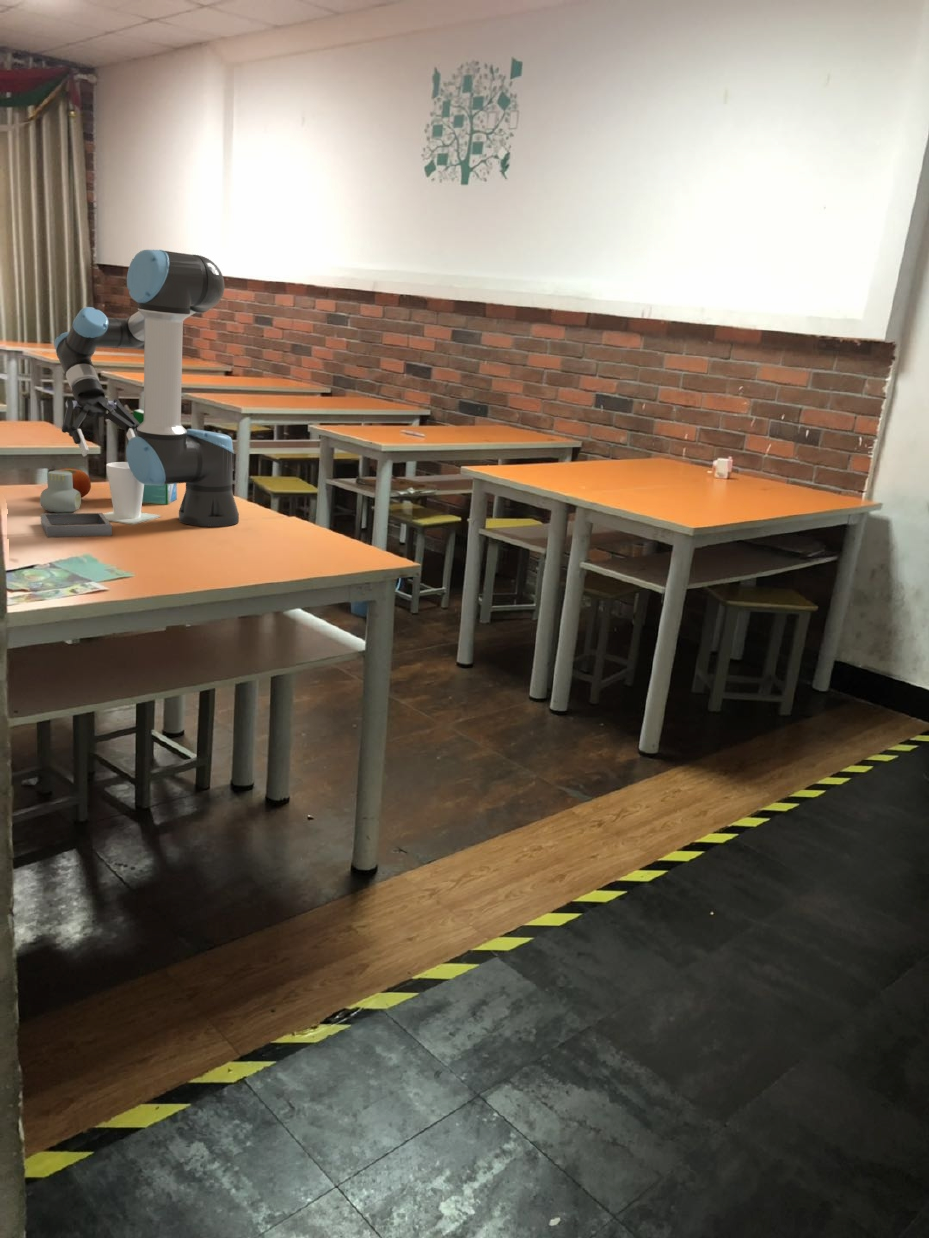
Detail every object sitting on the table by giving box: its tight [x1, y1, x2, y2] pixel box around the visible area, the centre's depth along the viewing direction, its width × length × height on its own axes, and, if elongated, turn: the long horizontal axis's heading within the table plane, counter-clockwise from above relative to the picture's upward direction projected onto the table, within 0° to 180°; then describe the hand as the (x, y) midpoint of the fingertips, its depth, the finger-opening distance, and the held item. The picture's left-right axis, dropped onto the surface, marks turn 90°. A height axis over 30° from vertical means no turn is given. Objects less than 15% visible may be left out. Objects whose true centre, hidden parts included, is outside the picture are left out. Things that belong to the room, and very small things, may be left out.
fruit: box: [57, 468, 92, 499], centre depth 260 cm, size 11×10×8 cm
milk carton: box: [132, 407, 178, 505], centre depth 265 cm, size 9×9×25 cm
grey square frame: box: [40, 512, 113, 538], centre depth 228 cm, size 14×14×2 cm
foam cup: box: [106, 461, 144, 519], centre depth 243 cm, size 10×9×13 cm
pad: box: [103, 510, 162, 526], centre depth 245 cm, size 12×12×1 cm
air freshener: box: [39, 470, 82, 514], centre depth 245 cm, size 11×8×10 cm
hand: (112, 452), depth 246 cm, fingers open, 13 cm apart
